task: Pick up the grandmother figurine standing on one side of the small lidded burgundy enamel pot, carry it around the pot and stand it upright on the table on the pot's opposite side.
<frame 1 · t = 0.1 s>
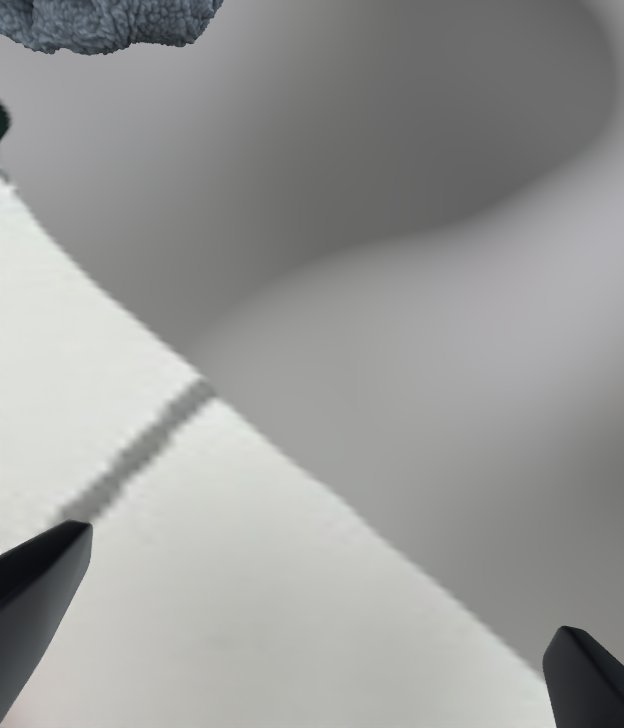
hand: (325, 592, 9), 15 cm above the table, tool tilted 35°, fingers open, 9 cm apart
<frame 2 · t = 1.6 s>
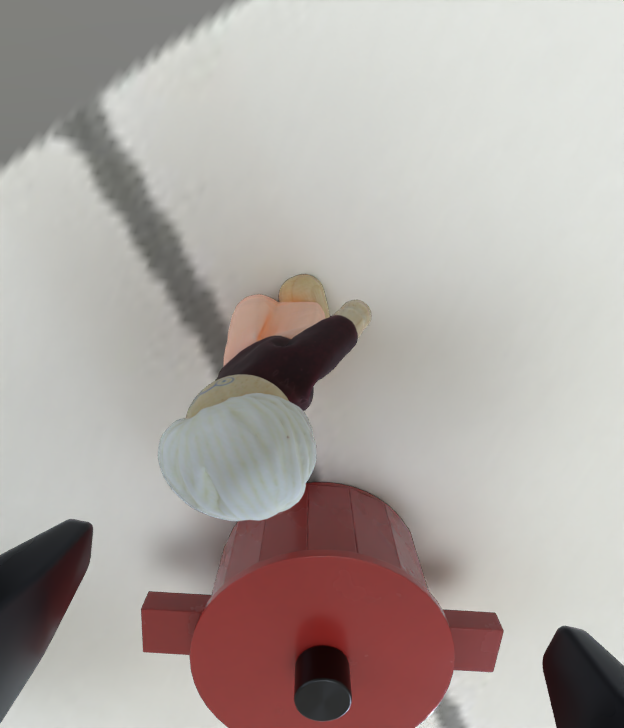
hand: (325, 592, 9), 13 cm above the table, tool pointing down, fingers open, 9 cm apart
pot lid: (322, 656, 20), point 5 cm above the table, touching pot
grandmother figurine: (275, 327, 21), on the table
pot: (320, 565, 25), on the table
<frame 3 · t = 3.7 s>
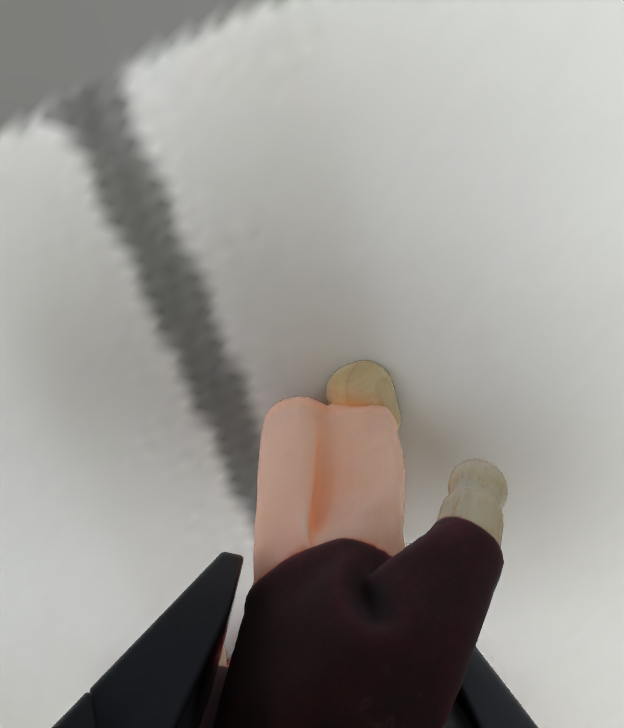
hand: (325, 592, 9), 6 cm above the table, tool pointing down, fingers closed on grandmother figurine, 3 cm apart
grandmother figurine: (321, 431, 15), on the table, touching gripper
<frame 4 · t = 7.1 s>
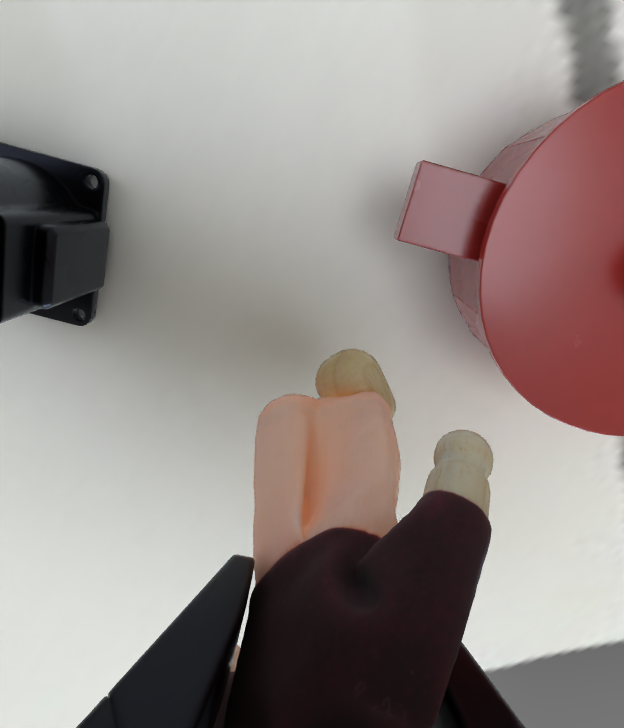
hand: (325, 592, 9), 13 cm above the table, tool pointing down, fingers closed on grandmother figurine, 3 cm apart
grandmother figurine: (318, 426, 15), point 7 cm above the table, touching gripper
pot: (573, 251, 19), on the table
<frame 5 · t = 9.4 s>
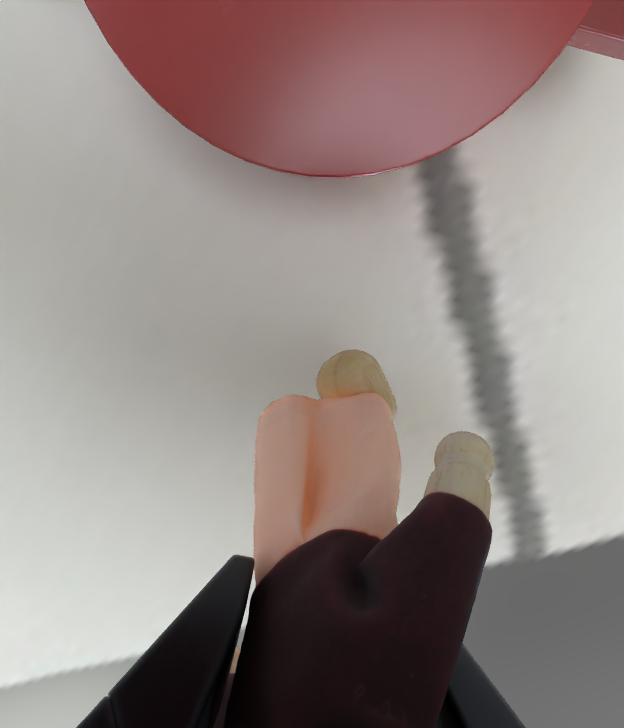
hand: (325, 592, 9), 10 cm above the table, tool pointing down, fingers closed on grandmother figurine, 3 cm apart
grandmother figurine: (319, 427, 15), point 3 cm above the table, touching gripper
when the fingers open (6 cm above the table, at t = 10.6 s): grandmother figurine stays where it is, on the table.
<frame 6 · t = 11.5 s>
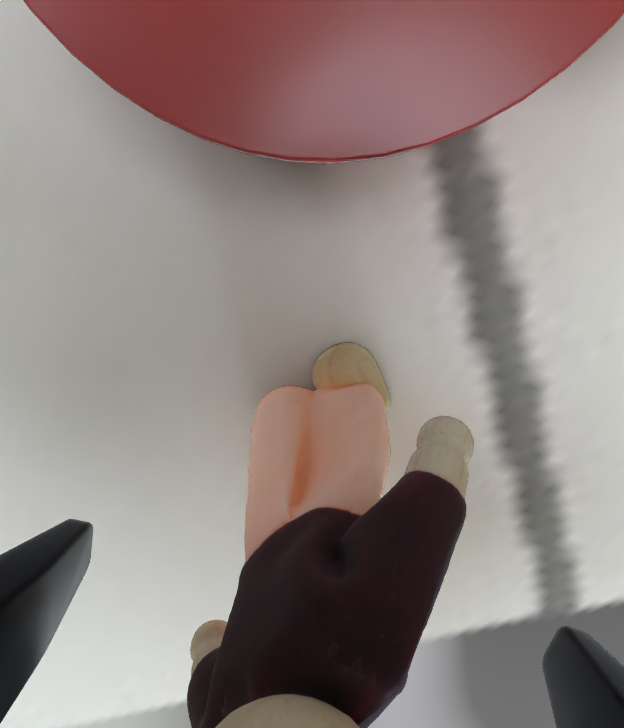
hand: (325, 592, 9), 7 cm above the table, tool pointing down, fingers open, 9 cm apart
grandmother figurine: (315, 418, 15), on the table
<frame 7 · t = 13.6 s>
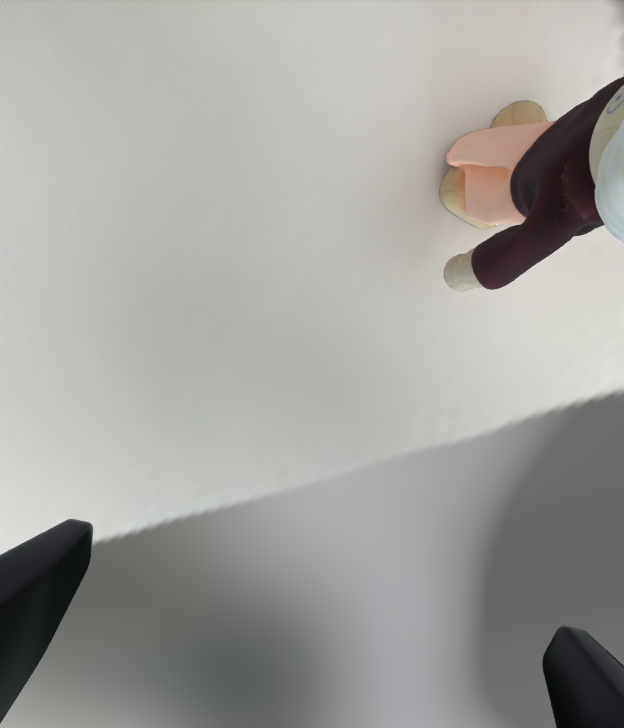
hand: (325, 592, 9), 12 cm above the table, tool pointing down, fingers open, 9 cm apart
grandmother figurine: (485, 180, 18), on the table
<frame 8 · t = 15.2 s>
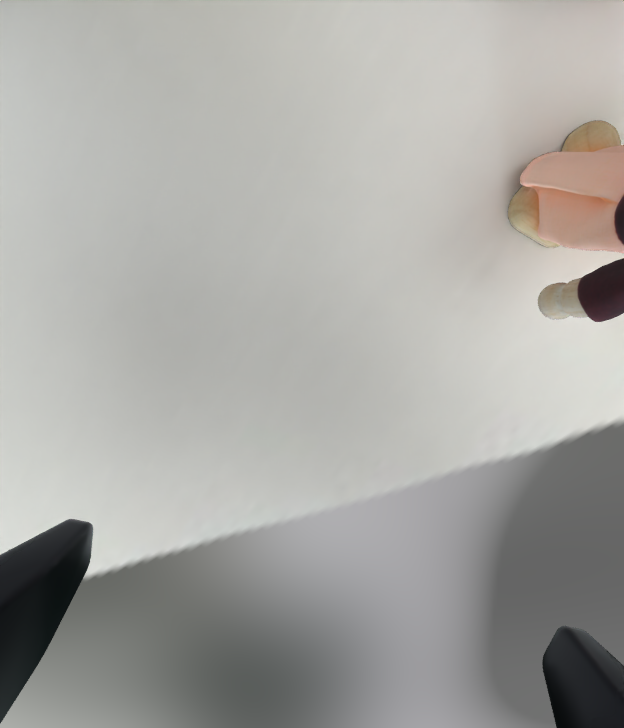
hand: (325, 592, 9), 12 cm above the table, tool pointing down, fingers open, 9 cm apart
grandmother figurine: (553, 199, 18), on the table
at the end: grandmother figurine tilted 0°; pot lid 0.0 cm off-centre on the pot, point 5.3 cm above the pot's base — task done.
